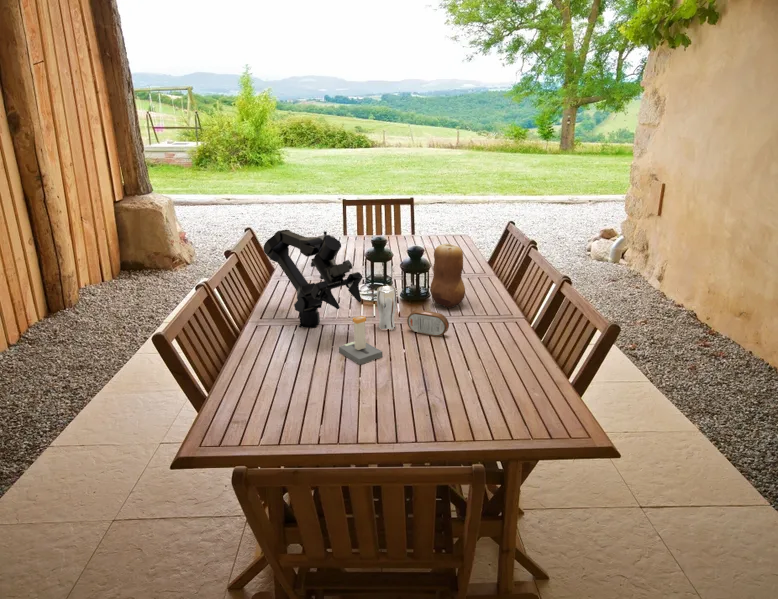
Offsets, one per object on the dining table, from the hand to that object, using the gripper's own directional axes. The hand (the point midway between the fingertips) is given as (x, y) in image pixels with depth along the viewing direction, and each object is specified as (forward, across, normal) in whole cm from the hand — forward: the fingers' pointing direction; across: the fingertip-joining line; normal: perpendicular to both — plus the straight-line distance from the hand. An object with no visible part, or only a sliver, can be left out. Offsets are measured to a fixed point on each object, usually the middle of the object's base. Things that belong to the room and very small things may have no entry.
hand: (349, 304), depth 193 cm
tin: (+18, +25, +4) cm, 32 cm away
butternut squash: (+8, +51, +13) cm, 53 cm away
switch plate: (+16, -3, +6) cm, 17 cm away
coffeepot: (-50, +48, +61) cm, 93 cm away
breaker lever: (+14, -3, +4) cm, 15 cm away
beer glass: (+8, +19, +13) cm, 24 cm away
